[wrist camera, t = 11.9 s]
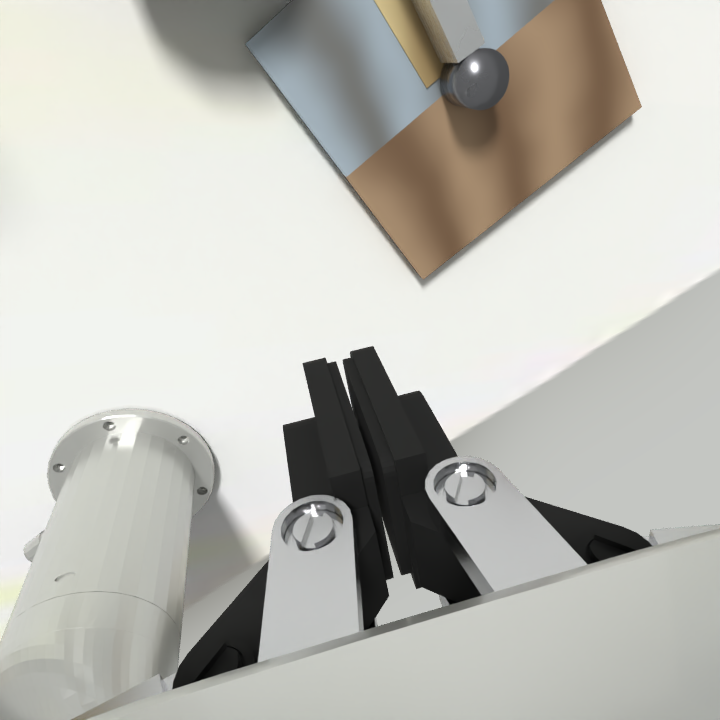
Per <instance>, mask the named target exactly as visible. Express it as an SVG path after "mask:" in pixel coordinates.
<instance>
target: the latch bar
mask: <svg viewBox="0 0 720 720" xmlns="http://www.w3.org/2000/svg"><path fill="white" fill-rule="evenodd" d="M411 1H412V3H413V5H414V7H415V10H416V12H417V14H418V16H419V18H420V20H421V22H422V24H423V26H424V29H425V31H426V33H427V35H428V37H429V39H430V41H431V43H432V45H433V48H434V50H435V52H436V54H437V56H438V58H439V60H440V62H441V63H445V64H444V66H443V68H442V71H441V75H440V86H441V90H442V93H443V95H444V97H445V98H446V100H447V101H448V102H450V103H451V104H453V105H455V106H459V107H464V108H469V109H474V110H486V109H489V108H491V107H493V106H494V105H496V104H497V103H498V102H499V101H500V100H501V99H502V97H503V96H504V94H505V92H506V90H507V87H508V83H509V67H508V64H507V62H506V60H505V58H504V57H503V55H502V54H501V53H499V52H498V51H496V50H494V49H491V48H479V47H481V46H482V45H483V44H485V41H484V39H483V37H482V34H481V32H480V29H479V27H478V25H477V22H476V20H475V18H474V15H473V13H472V10H471V8H470V6H469V3H468V1H467V0H411Z"/></svg>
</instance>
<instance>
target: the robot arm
mask: <svg viewBox="0 0 720 720" xmlns="http://www.w3.org/2000/svg"><path fill="white" fill-rule="evenodd" d="M350 356H351V358H348V359H344V360H343V365H344V370H345V375H346V380H347V384H348V389H349V394H350V399H351V404H352V407H351V404H350V401H349V398H348V395H347V393H346V390H345V387H344V384H343V381H342V378H341V375H340V372H339V369H338V366H337V363H336V361H335V362H331V363H327V361H326V358H322V359H318V360H314V361H309V362H305V363H303V367H304V371H305V376H306V380H307V384H308V389H309V393H310V397H311V402H312V406H313V410H314V415H315V417H313V418H309V419H305V420H301V421H297V422H294V423H290V424H286V425H283V432H284V440H285V447H286V454H287V462H288V469H289V476H290V484H291V491H292V498H293V503H292V504H290V505H289V506H288V507H286V508H285V509H284V510H283V511H282V512H281V513H280V515H279V516H278V518H277V519H276V520H275V523H274V526H273V530H272V536H271V546H270V555H269V560H268V562H267V563H266V564H265V565H264V566H263V567H262V569H261V570H260V571H259V572H258V573H257V574H256V575H255V577H254V578H253V579H252V580H251V581H250V582H249V584H248V585H247V586H246V587H245V588H244V589H243V591H242V592H241V593H240V594H239V595H238V596H237V597H236V599H235V600H234V601H233V602H232V604H230V606H229V607H228V608H227V609H226V610H225V611H224V612H223V614H222V615H221V616H220V617H219V618H218V619H217V621H216V622H215V623H214V624H213V625H212V626H211V627H210V629H209V630H208V631H207V632H206V633H205V634H204V636H203V637H202V638H201V639H200V640H199V642H197V644H196V645H195V646H194V647H193V648H192V649H191V651H190V652H189V653H188V654H187V656H186V657H185V659H184V660H183V661H182V663H181V664H180V666H179V668H178V660H179V659H178V658H179V648H180V639H181V628H182V617H183V607H184V596H185V585H186V574H187V563H188V552H189V541H190V530H191V519H192V517H193V516H194V515H195V514H196V513H197V512H199V511H200V510H201V509H202V507H203V506H204V504H205V503H206V502H207V500H208V499H209V496H210V494H211V492H212V489H213V484H214V475H215V466H214V461H213V456H212V454H211V452H210V450H209V448H208V445H207V444H206V443H205V441H204V440H203V439H202V438H201V436H200V435H199V434H198V433H197V432H195V431H194V430H193V429H192V428H191V427H190V426H188V425H186V424H185V423H183V422H181V421H179V420H178V419H176V418H173V417H171V416H168V415H165V414H163V413H159V412H154V411H149V410H142V409H121V410H111V411H108V412H104V413H100V414H96V415H94V416H91V417H89V418H87V419H85V420H82V421H81V422H79V423H78V424H76V425H75V426H73V427H72V428H71V429H69V430H68V431H67V432H66V433H65V434H64V436H63V437H62V438H61V439H60V440H59V442H58V444H57V445H56V447H55V449H54V451H53V453H52V456H51V458H50V461H49V464H48V471H47V478H48V485H49V488H50V491H51V493H52V495H53V498H54V499H55V500H56V504H55V506H54V509H53V511H52V514H51V516H50V519H49V521H48V524H47V526H46V529H45V530H44V531H42V532H41V533H39V534H38V535H37V536H36V537H35V538H33V539H32V540H31V541H30V542H28V543H27V544H26V545H25V547H24V555H25V557H26V558H27V560H29V561H31V562H32V564H31V566H30V569H29V571H28V574H27V576H26V579H25V581H24V584H23V586H22V588H21V591H20V593H19V596H18V598H17V601H16V603H15V606H14V608H13V611H12V613H11V616H10V618H9V621H8V623H7V626H6V628H5V631H4V633H3V636H2V638H1V640H0V720H720V524H718V525H704V526H691V527H679V528H665V529H652V530H650V535H649V536H645V537H642V536H640V535H639V534H638V533H636V532H634V531H631V530H629V529H626V528H624V527H622V526H618V525H615V524H612V523H609V522H605V521H602V520H599V519H596V518H592V517H589V516H586V515H582V514H579V513H576V512H573V511H570V510H566V509H563V508H560V507H556V506H553V505H550V504H547V503H544V502H540V501H537V500H534V499H531V498H527V497H524V495H523V494H522V493H521V492H520V491H519V490H518V489H517V488H516V487H515V486H514V485H513V484H512V483H511V481H510V480H509V479H508V478H507V477H506V476H505V475H504V474H503V473H502V472H501V471H500V470H499V469H498V468H497V467H496V466H494V465H493V464H492V463H491V462H488V461H486V460H484V459H481V458H477V457H471V456H461V457H458V456H457V454H456V452H455V451H454V449H453V447H452V446H451V444H450V442H449V440H448V438H447V437H446V435H445V433H444V431H443V430H442V428H441V426H440V424H439V423H438V421H437V419H436V417H435V415H434V414H433V412H432V410H431V408H430V407H429V405H428V403H427V401H426V400H425V398H424V396H423V395H422V393H421V392H420V391H415V392H412V393H408V394H404V395H400V396H397V393H396V391H395V389H394V387H393V385H392V383H391V381H390V379H389V377H388V375H387V373H386V371H385V369H384V367H383V365H382V363H381V361H380V359H379V357H378V355H377V353H376V351H375V349H374V347H373V346H371V347H367V348H363V349H359V350H355V351H351V352H350ZM352 409H353V410H352ZM382 518H383V520H382ZM383 521H384V524H385V527H386V530H387V533H388V536H389V540H390V543H391V546H392V549H393V552H394V555H395V558H396V561H397V564H398V567H399V570H400V573H401V575H405V574H408V573H411V575H412V578H413V581H414V584H415V587H416V589H418V588H421V587H423V588H425V589H428V590H430V591H432V592H434V593H437V594H439V597H440V601H441V604H442V606H443V607H441V608H438V609H435V610H432V611H428V612H425V613H421V614H418V615H414V616H411V617H408V618H404V619H401V620H398V621H395V622H391V623H388V624H384V625H381V626H378V625H377V621H376V616H377V614H378V613H379V611H380V609H381V607H382V606H383V604H384V603H385V601H386V600H387V598H388V596H389V593H388V588H387V583H386V580H387V579H391V578H393V572H392V566H391V561H390V556H389V552H388V546H387V541H386V536H385V531H384V526H383Z"/></svg>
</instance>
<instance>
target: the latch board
mask: <svg viewBox="0 0 720 720" xmlns="http://www.w3.org/2000/svg"><path fill="white" fill-rule="evenodd" d="M467 1H468V3H469V6H470V8H471V10H472V13H473V15H474V18H475V20H476V22H477V25H478V27H479V29H480V32H481V34H482V37H483V39H484V41H485V44H483V45H482V46H481V47H479V48H491V49H494V50H496V51H498V52H499V53H501V54H502V55H503V57H504V58H505V60H506V62H507V64H508V67H509V83H508V87H507V90H506V92H505V94H504V96H503V97H502V99H501V100H500V101H499V102H498V103H497V104H496V105H494V106H493V107H491V108H489V109H486V110H474V109H469V108H464V107H459V106H455V105H453V104H451V103H450V102H448V101H447V100H446V98H445V97H444V95H443V93H442V90H441V86H440V75H441V71H442V68H443V66H444V64H445V63H441V62H440V60H439V58H438V56H437V54H436V52H435V50H434V48H433V45H432V43H431V41H430V39H429V37H428V35H427V33H426V31H425V29H424V26H423V24H422V22H421V20H420V18H419V16H418V14H417V12H416V10H415V7H414V5H413V3H412V1H411V0H292V1H291V2H290V3H289V4H288V5H287V6H286V7H284V8H283V9H282V10H281V11H280V12H279V13H278V14H277V15H276V16H275V17H274V18H273V19H272V20H271V21H269V22H268V23H267V24H266V25H265V26H264V27H263V28H262V29H261V30H260V31H259V32H258V33H257V34H256V35H255V36H253V37H252V38H251V39H250V40H249V41H248V42H247V43H246V44H245V45H246V46H247V47H248V49H249V50H250V51H251V53H252V54H253V55H254V57H255V58H256V59H257V61H258V62H259V63H260V65H261V66H262V67H263V69H264V70H265V71H266V73H267V74H268V75H269V77H270V78H271V79H272V81H273V82H274V83H275V85H276V86H277V87H278V89H279V90H280V91H281V93H282V94H283V95H284V97H285V98H286V99H287V101H288V102H289V103H290V104H291V106H292V107H293V108H294V110H295V111H296V112H297V114H298V115H299V116H300V118H301V119H302V120H303V122H304V123H305V124H306V126H307V127H308V128H309V130H310V131H311V132H312V134H313V135H314V136H315V138H316V139H317V140H318V142H319V143H320V144H321V146H322V147H323V148H324V150H325V151H326V152H327V154H328V155H329V156H330V158H331V159H332V160H333V162H334V163H335V164H336V166H337V167H338V168H339V170H340V171H341V172H342V174H343V175H344V176H345V178H346V179H347V180H348V182H349V183H350V184H351V185H352V187H353V188H354V189H355V191H356V192H357V193H358V195H359V196H360V197H361V199H362V200H363V201H364V203H365V204H366V205H367V207H368V208H369V209H370V211H371V212H372V213H373V215H374V216H375V217H376V219H377V220H378V221H379V223H380V224H381V225H382V227H383V228H384V229H385V231H386V232H387V233H388V235H389V236H390V237H391V239H392V240H393V241H394V243H395V244H396V245H397V247H398V248H399V249H400V251H401V252H402V253H403V255H404V256H405V257H406V259H407V260H408V261H409V262H410V264H411V265H412V266H413V268H414V269H415V270H416V272H417V273H418V274H419V276H420V277H421V278H422V279H425V278H426V277H427V276H428V275H430V274H431V273H432V272H433V271H435V270H436V269H437V268H438V267H440V266H441V265H442V264H444V263H445V262H446V261H447V260H449V259H450V258H451V257H452V256H454V255H455V254H456V253H457V252H459V251H460V250H461V249H463V248H464V247H465V246H466V245H468V244H469V243H470V242H471V241H473V240H474V239H475V238H476V237H478V236H479V235H480V234H482V233H483V232H484V231H485V230H487V229H488V228H489V227H490V226H492V225H493V224H494V223H495V222H497V221H498V220H499V219H501V218H502V217H503V216H504V215H506V214H507V213H508V212H509V211H511V210H512V209H513V208H514V207H516V206H517V205H518V204H520V203H521V202H522V201H523V200H525V199H526V198H527V197H528V196H530V195H531V194H532V193H533V192H535V191H536V190H537V189H539V188H540V187H541V186H542V185H544V184H545V183H546V182H547V181H549V180H550V179H551V178H552V177H554V176H555V175H556V174H558V173H559V172H560V171H561V170H563V169H564V168H565V167H566V166H568V165H569V164H570V163H571V162H573V161H574V160H575V159H577V158H578V157H579V156H580V155H582V154H583V153H584V152H585V151H587V150H588V149H589V148H590V147H592V146H593V145H594V144H595V143H597V142H598V141H599V140H601V139H602V138H603V137H604V136H606V135H607V134H608V133H609V132H611V131H612V130H613V129H614V128H616V127H617V126H618V125H620V124H621V123H622V122H623V121H625V120H626V119H627V118H628V117H630V116H631V115H632V114H633V113H635V112H636V111H637V110H639V109H640V108H641V107H642V106H641V104H640V101H639V98H638V96H637V93H636V90H635V88H634V85H633V83H632V80H631V77H630V75H629V72H628V70H627V67H626V64H625V62H624V59H623V56H622V54H621V51H620V49H619V46H618V43H617V41H616V38H615V35H614V33H613V30H612V28H611V25H610V22H609V20H608V17H607V15H606V12H605V9H604V7H603V4H602V1H601V0H467Z"/></svg>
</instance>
